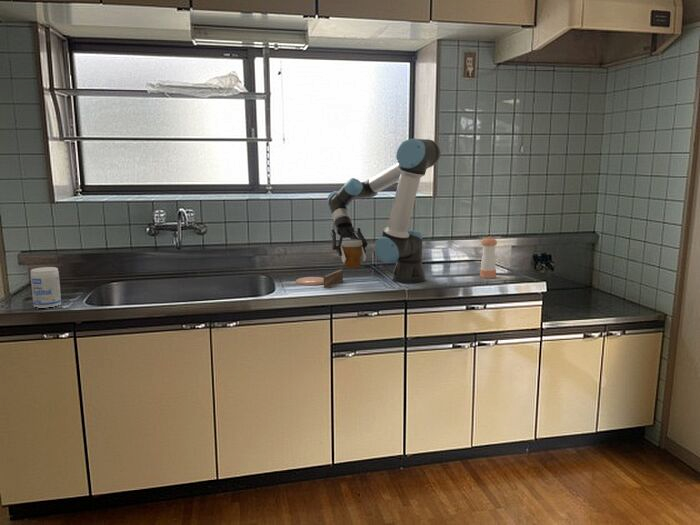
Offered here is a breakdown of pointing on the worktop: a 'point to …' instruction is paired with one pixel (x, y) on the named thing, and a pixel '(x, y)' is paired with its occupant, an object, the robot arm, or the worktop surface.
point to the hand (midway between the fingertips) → (354, 260)
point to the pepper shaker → (488, 258)
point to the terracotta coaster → (310, 281)
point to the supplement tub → (45, 287)
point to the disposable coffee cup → (352, 253)
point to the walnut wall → (333, 278)
